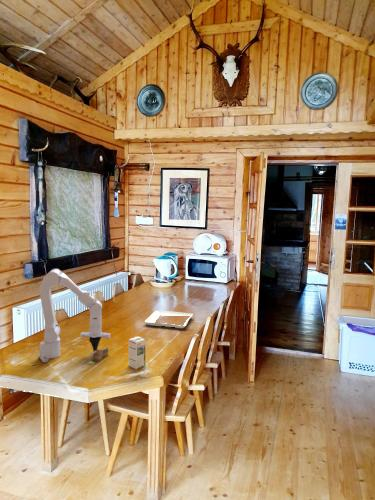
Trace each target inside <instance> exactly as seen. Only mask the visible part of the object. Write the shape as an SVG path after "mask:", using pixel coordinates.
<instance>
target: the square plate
mask: <svg viewBox="0 0 375 500" xmlns="http://www.w3.org/2000/svg"><path fill="white" fill-rule="evenodd" d="M160 315H161V316H190V317H189V318H188V319H187V320H186V322H185V323H184V325H183V326H181V325H175V324H167V323H155V322H156V320H157V319H158V318H159V316H160ZM193 315H194V314H193V313H189V312H182V311H181V312H180V311H171V310H155V311H154V312H152V313H151V315H149V316H148V317H147V318H146V319H145V321H144V322H143V323H144V324H145V325H147V326H152V327H153V326H154V327H161V326H165V327H164V328H171V327H175V328H174V329H184V328H185V327H186V326H187V325H188V322H190V321H189V320H190V319H191V318H192V317H193Z"/></svg>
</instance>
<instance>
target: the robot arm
mask: <svg viewBox="0 0 375 500" xmlns="http://www.w3.org/2000/svg"><path fill="white" fill-rule="evenodd" d="M57 284H58V285H57ZM56 285H57V286H65V287H66V288H67V289H69V290H70V291H71V292H72V293H73V294H75V295H76V296H77V300H78V301H79V302H80V303H81V304H82V305H83V306H85V307H86V308H88V311H89V313H90V316H89V331H88V332H86V331H85V332H81V333H80V338H89V340H88V341H89V343H90V344H91V346H92V352H93V351H94V350H98V347H99V344H100V341H101V340H102V338H106V339H110V338H111V333H108V332H102V321H103V320H102V308H103V303H102V302H101V301H100V299H97V298H95V297H94V296H92V294H91V292H90V291H87V290H82V289H81V288H80V287H79V286H78V285H77V284H76V283H75V282H74V281H73V280H72V279H71V278H70V277H68V275H67V274H66V273H64V272H63V271H62V270H60V269H59V268H52V269H51V270H50V271H49V272H48V273H47V274H46V275H44V276H43V279H42V281H41V283H40V285H39V287H38V290H39V291H38V292H39V296H40V303H41V308H42V311H43V312H42V313H43V318H44V334H43V339H44V340H43V341H41V342H39V345H38V346H39V347H38V348H39V350H38V351H39V353H38V354H39V356H38V357H39V359H40V360H41V361H42V363H48V362H50V359H56V358H57V357H60V356H61V338H60V336H59V335H60V333H61V327H60V325H59V324H58V321H57V319H56V314H55V308H54V303H53V296H52V288H53V287H54V286H56Z"/></svg>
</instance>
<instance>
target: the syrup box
mask: <svg viewBox="0 0 375 500" xmlns="http://www.w3.org/2000/svg"><path fill="white" fill-rule="evenodd" d="M146 340H147V339H145V338H144V337H141V336H135V337H133V338H129V339H128V366H129V367H131V368H132V369H135V370H138V369H141V368H143V367H145V366H146V345H147V344H146V342H147V341H146Z"/></svg>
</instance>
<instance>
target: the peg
mask: <svg viewBox="0 0 375 500" xmlns="http://www.w3.org/2000/svg"><path fill="white" fill-rule="evenodd" d="M89 355H90V356H92V361H93V362H101V361H102V360H103V358H104V357H106V356H108V355H109V347H104V348H102V349H97V350H94V351H93V350H92V352H90V353H89Z"/></svg>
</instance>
